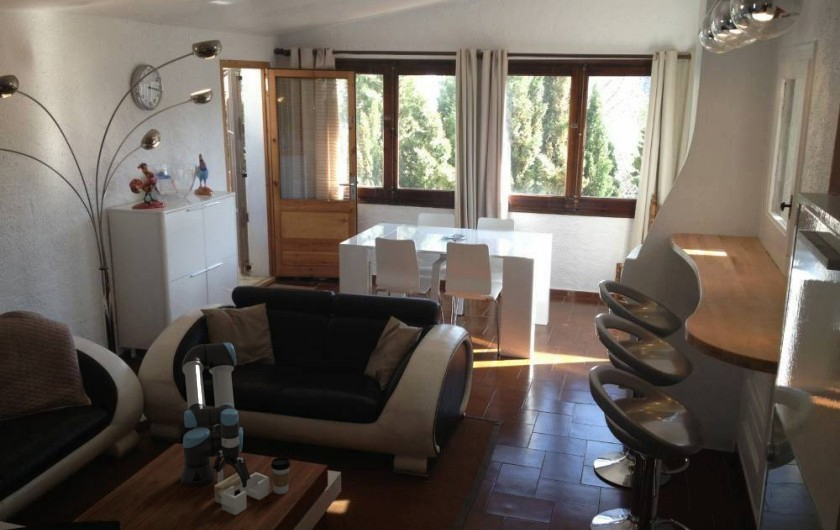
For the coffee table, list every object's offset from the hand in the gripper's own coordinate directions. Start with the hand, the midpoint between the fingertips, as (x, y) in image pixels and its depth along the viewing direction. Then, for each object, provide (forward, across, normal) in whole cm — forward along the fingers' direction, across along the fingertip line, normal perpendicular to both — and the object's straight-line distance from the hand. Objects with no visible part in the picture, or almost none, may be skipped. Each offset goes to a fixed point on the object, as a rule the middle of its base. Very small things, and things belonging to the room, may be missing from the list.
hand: (232, 489), depth 329 cm
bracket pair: (+4, +8, 0) cm, 9 cm away
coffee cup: (+4, +15, +15) cm, 22 cm away
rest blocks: (+3, 0, 0) cm, 3 cm away
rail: (0, 0, 0) cm, 1 cm away
